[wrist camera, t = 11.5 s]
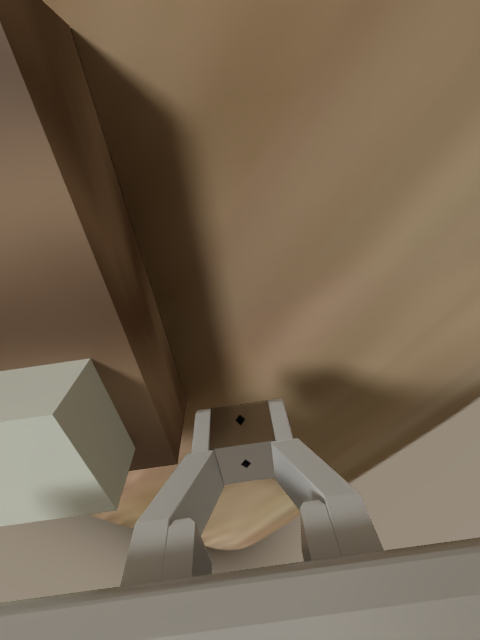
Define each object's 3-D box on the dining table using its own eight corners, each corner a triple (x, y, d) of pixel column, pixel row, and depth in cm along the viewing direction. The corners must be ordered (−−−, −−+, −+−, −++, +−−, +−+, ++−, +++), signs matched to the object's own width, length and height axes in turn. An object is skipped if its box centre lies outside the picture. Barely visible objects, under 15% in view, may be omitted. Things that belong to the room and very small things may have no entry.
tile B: (-50, 378, 10) (-128, 440, 7) (90, 358, 10) (51, 414, 7) (23, 464, 12) (-20, 529, 10) (135, 448, 12) (116, 510, 10)
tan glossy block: (-249, 74, 8) (-575, 12, 5) (69, 25, 8) (-38, -74, 5) (21, 423, 16) (-33, 493, 13) (186, 400, 16) (177, 464, 13)
